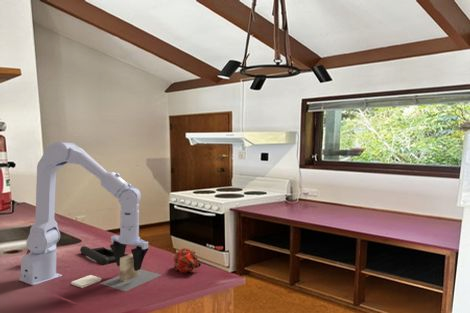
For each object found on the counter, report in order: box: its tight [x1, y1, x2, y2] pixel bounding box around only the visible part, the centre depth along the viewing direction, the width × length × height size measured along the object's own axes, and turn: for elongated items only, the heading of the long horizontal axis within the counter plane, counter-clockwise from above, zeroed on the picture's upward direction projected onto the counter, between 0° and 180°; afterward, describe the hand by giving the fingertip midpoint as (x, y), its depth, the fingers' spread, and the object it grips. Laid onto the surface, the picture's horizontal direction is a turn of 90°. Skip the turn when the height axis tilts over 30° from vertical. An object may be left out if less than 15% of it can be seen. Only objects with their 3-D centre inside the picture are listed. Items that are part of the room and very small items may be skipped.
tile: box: [70, 274, 102, 289], centre depth 110 cm, size 2×5×7 cm
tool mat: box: [99, 269, 162, 293], centre depth 114 cm, size 16×11×1 cm
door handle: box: [79, 245, 129, 266], centre depth 138 cm, size 3×20×16 cm
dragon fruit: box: [173, 247, 202, 275], centre depth 123 cm, size 8×8×12 cm
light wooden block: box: [119, 253, 139, 281], centre depth 115 cm, size 6×2×7 cm, turn 151°
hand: (128, 267), depth 114 cm, fingers open, 7 cm apart
